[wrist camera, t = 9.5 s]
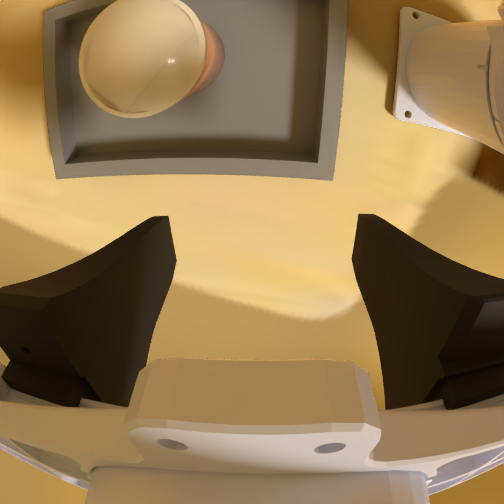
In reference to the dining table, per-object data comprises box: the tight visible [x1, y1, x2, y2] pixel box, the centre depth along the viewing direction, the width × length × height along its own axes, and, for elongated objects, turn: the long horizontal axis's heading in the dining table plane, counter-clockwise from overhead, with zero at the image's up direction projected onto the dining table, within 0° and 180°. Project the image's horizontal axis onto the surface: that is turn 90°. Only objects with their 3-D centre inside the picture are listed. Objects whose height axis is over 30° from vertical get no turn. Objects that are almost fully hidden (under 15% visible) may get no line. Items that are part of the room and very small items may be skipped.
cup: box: [79, 0, 225, 118], centre depth 12 cm, size 5×5×7 cm
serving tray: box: [43, 0, 348, 181], centre depth 15 cm, size 18×12×2 cm, turn 88°
